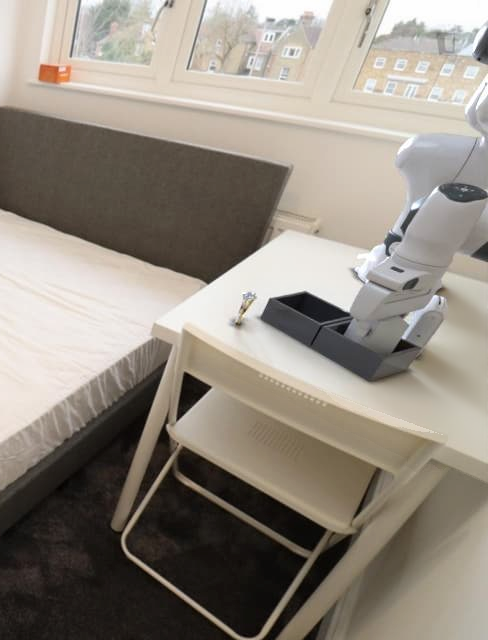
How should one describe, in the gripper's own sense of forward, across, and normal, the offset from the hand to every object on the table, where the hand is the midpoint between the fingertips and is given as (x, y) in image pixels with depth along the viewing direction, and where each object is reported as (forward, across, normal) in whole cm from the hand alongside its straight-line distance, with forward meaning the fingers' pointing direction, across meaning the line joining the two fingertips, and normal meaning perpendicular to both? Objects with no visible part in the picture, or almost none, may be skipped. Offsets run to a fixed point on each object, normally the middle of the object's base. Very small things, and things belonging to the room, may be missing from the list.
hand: (374, 331), depth 106 cm
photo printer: (+7, -16, +1) cm, 18 cm away
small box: (+6, 0, 0) cm, 7 cm away
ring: (+7, +14, -20) cm, 25 cm away
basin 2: (+7, 0, 0) cm, 7 cm away
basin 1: (+7, 0, -14) cm, 15 cm away
